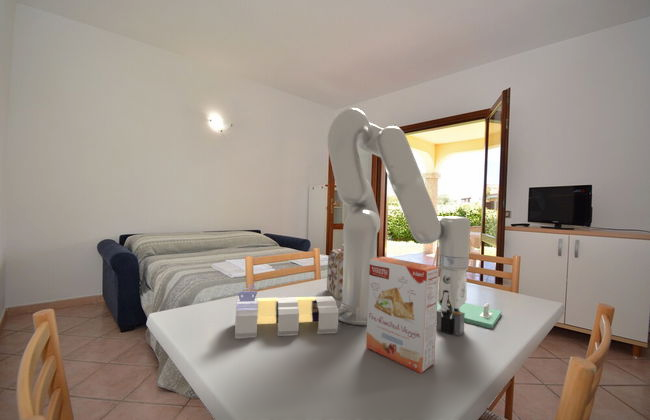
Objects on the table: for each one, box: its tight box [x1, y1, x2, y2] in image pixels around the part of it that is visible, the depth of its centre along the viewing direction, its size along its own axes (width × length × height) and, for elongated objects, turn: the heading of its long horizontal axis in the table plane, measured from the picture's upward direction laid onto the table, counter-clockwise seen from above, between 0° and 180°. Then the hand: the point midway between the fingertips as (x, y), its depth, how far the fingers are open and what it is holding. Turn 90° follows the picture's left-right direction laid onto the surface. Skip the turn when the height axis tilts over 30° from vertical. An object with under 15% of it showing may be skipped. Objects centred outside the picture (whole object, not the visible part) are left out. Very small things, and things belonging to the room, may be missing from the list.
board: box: [437, 300, 502, 330], centre depth 95 cm, size 15×19×4 cm
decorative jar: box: [326, 243, 344, 300], centre depth 111 cm, size 12×12×18 cm
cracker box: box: [365, 256, 440, 374], centre depth 66 cm, size 14×6×21 cm, turn 45°
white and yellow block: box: [234, 283, 339, 339], centre depth 78 cm, size 25×10×13 cm, turn 102°
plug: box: [436, 309, 465, 337], centre depth 82 cm, size 4×6×5 cm, turn 51°
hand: (449, 329), depth 82 cm, fingers closed on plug, 3 cm apart
